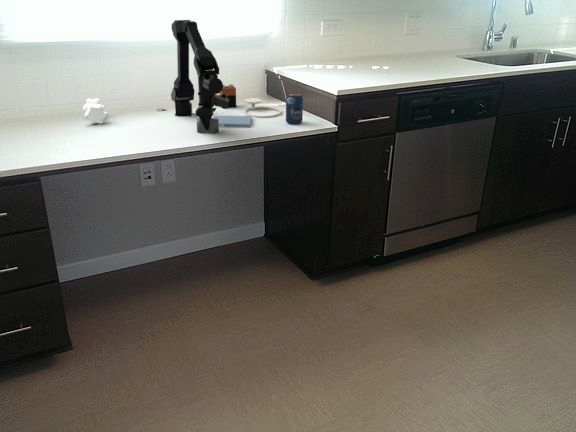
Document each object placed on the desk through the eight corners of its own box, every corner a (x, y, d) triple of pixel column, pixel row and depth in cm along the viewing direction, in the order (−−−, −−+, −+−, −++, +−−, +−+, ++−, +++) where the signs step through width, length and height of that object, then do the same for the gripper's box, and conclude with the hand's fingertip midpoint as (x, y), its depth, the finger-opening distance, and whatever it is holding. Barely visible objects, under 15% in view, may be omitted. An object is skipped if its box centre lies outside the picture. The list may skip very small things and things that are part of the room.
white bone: (107, 125, 222) (107, 105, 219) (85, 125, 219) (84, 105, 216) (104, 116, 235) (103, 97, 232) (83, 116, 232) (82, 96, 229)
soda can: (292, 126, 224) (293, 97, 219) (282, 122, 229) (282, 93, 224) (305, 123, 228) (306, 94, 223) (295, 120, 233) (295, 91, 228)
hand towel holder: (257, 110, 230) (232, 100, 245) (257, 120, 232) (232, 110, 247) (289, 105, 239) (263, 96, 254) (289, 115, 241) (263, 105, 256)
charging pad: (210, 126, 221) (210, 123, 221) (214, 118, 233) (214, 115, 232) (249, 127, 221) (249, 124, 221) (251, 118, 233) (251, 116, 233)
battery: (236, 107, 251) (236, 85, 247) (222, 108, 248) (221, 86, 244) (233, 105, 255) (233, 83, 250) (219, 106, 252) (218, 84, 248)
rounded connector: (196, 132, 213) (195, 120, 210) (197, 130, 216) (197, 117, 214) (223, 133, 213) (223, 120, 211) (224, 130, 216) (224, 118, 214)
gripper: (224, 94, 199) (226, 136, 205) (229, 84, 216) (230, 122, 222) (194, 94, 199) (196, 135, 205) (201, 83, 216) (203, 122, 222)
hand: (207, 128), depth 214 cm, fingers closed on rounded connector, 4 cm apart
